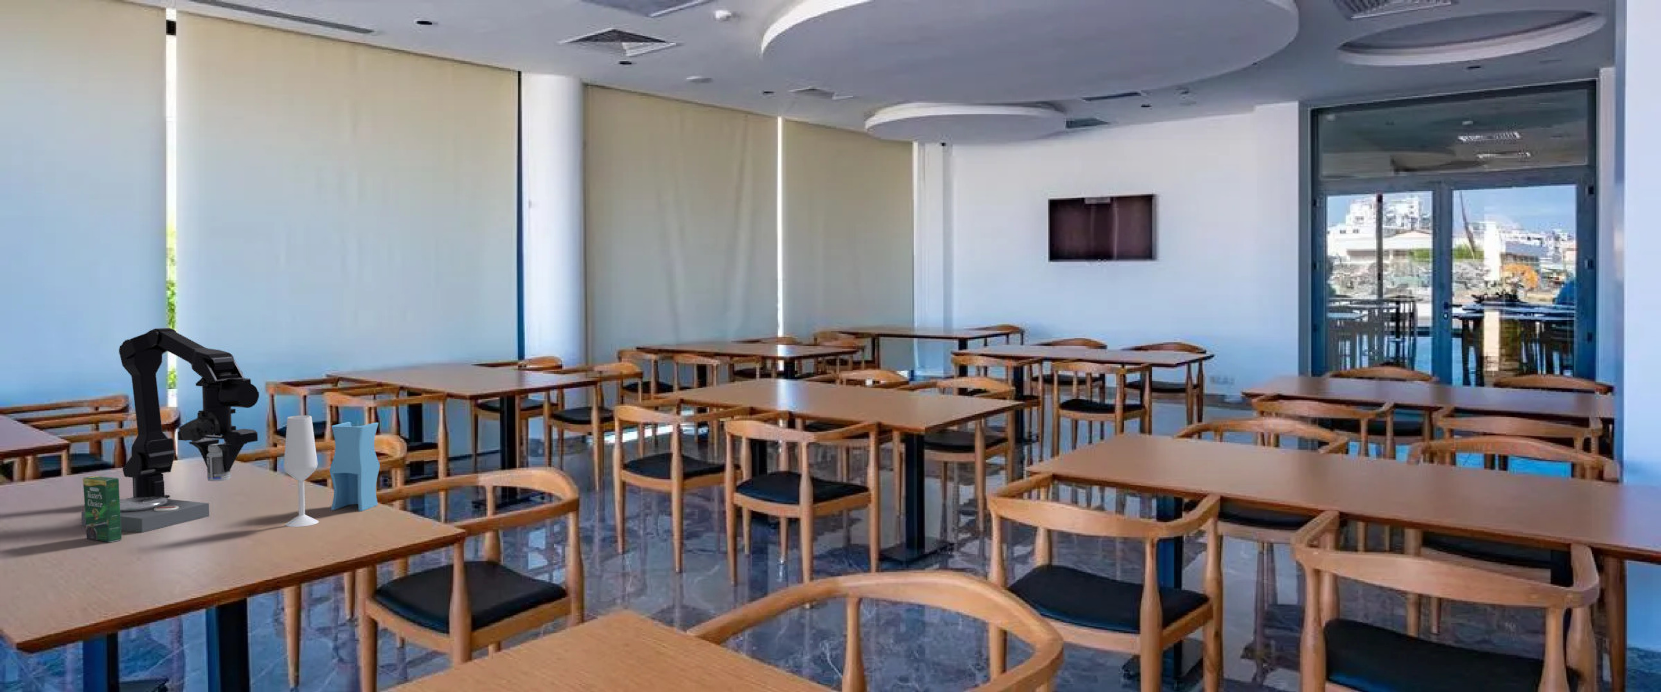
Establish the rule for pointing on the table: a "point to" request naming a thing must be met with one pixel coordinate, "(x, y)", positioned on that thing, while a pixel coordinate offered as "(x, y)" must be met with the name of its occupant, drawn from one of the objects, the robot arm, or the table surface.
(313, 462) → the champagne flute
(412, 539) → the table surface
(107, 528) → the coffee box
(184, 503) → the scale
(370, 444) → the blue wavy hollow stand
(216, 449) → the pill bottle
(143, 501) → the scale pan
